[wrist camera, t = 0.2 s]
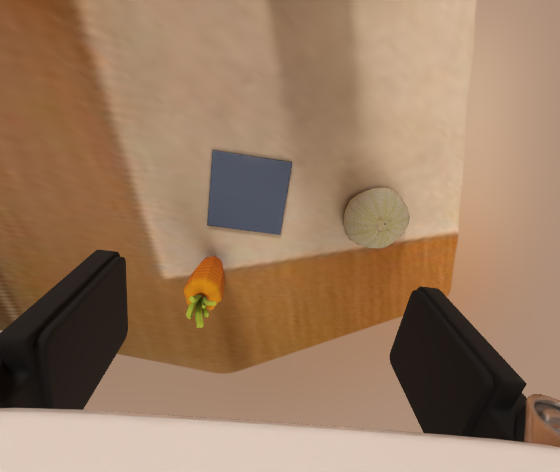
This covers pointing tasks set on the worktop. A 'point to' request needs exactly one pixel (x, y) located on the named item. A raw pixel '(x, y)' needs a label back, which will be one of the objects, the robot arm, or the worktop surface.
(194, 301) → the carrot
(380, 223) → the sea urchin shell
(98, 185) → the worktop surface
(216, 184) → the napkin
